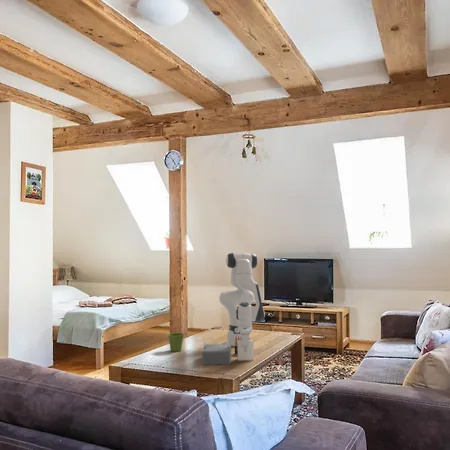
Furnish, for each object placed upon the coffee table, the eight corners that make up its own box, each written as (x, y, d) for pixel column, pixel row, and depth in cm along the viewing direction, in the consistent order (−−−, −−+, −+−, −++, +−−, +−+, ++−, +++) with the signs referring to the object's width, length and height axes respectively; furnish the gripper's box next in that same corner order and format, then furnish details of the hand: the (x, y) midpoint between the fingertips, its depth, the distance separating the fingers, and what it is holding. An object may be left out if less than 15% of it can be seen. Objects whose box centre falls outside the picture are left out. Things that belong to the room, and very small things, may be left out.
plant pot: (182, 352, 344) (181, 336, 344) (165, 352, 346) (165, 335, 346) (186, 349, 355) (186, 332, 355) (170, 348, 357) (170, 332, 358)
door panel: (237, 359, 323) (237, 340, 324) (253, 359, 323) (253, 340, 323) (237, 360, 320) (237, 341, 321) (253, 360, 320) (253, 341, 320)
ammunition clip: (234, 353, 338) (234, 335, 339) (235, 353, 340) (235, 335, 340) (250, 354, 335) (249, 336, 335) (250, 354, 337) (250, 335, 337)
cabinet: (205, 356, 331) (204, 339, 331) (231, 356, 330) (230, 339, 330) (202, 364, 310) (202, 346, 310) (230, 364, 309) (229, 346, 310)
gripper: (240, 325, 333) (240, 347, 332) (240, 331, 312) (240, 354, 312) (250, 325, 332) (250, 347, 332) (250, 331, 312) (250, 354, 312)
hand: (245, 350), depth 322 cm, fingers open, 6 cm apart
